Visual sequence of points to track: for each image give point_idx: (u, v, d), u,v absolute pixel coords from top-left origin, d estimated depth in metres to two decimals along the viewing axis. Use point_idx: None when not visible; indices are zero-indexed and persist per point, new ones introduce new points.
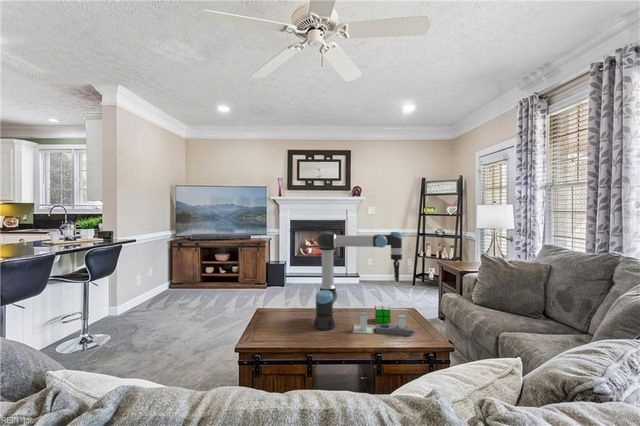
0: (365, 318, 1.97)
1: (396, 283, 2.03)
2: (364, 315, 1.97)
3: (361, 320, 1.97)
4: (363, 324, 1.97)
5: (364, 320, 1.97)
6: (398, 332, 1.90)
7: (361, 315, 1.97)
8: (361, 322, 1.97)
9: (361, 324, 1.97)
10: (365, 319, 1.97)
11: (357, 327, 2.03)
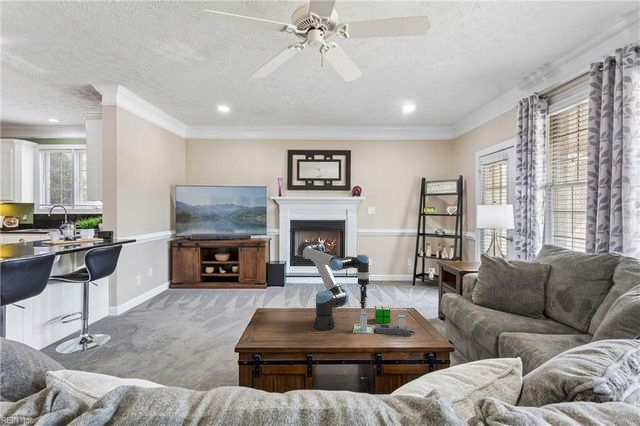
0: (365, 318, 1.97)
1: (362, 310, 1.92)
2: (364, 315, 1.97)
3: (361, 320, 1.97)
4: (363, 324, 1.97)
5: (364, 320, 1.97)
6: (398, 332, 1.90)
7: (361, 315, 1.97)
8: (361, 322, 1.97)
9: (361, 324, 1.97)
10: (365, 319, 1.97)
11: (357, 327, 2.03)
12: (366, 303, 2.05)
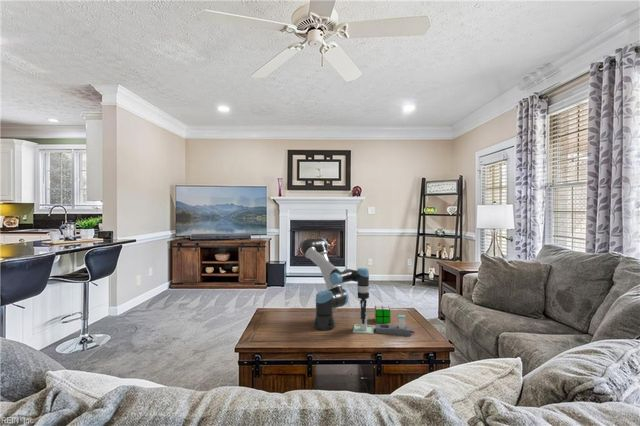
0: (365, 318, 1.97)
1: (362, 325, 1.96)
2: None
3: None
4: None
5: None
6: (398, 332, 1.90)
7: None
8: None
9: None
10: (365, 319, 1.97)
11: (357, 327, 2.03)
12: None
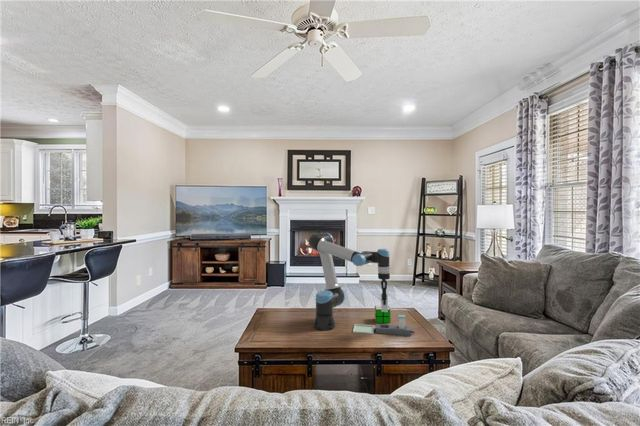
0: None
1: (383, 306, 1.94)
2: None
3: None
4: None
5: None
6: (398, 332, 1.90)
7: None
8: None
9: None
10: None
11: (357, 327, 2.03)
12: None
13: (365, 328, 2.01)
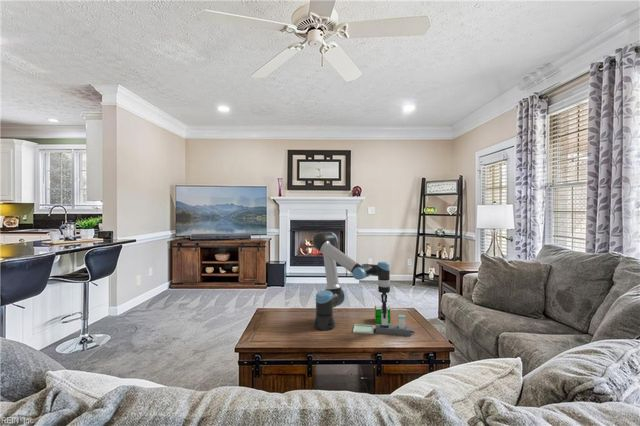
0: None
1: (383, 319, 1.94)
2: None
3: None
4: None
5: None
6: (398, 332, 1.90)
7: None
8: None
9: None
10: None
11: (357, 327, 2.03)
12: None
13: (365, 328, 2.01)
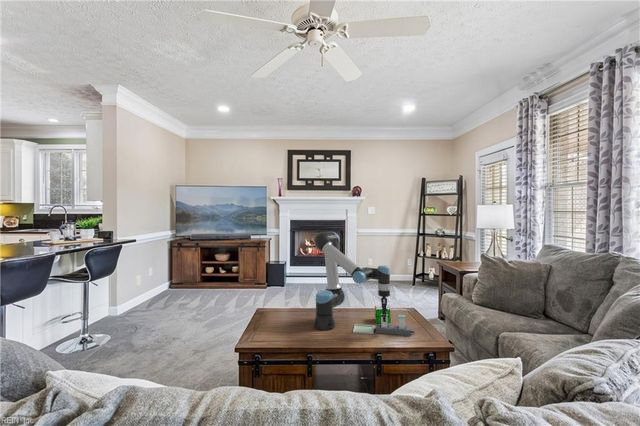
0: None
1: (383, 323, 1.90)
2: None
3: None
4: None
5: None
6: (398, 332, 1.90)
7: None
8: None
9: None
10: None
11: (357, 327, 2.03)
12: None
13: (365, 328, 2.01)
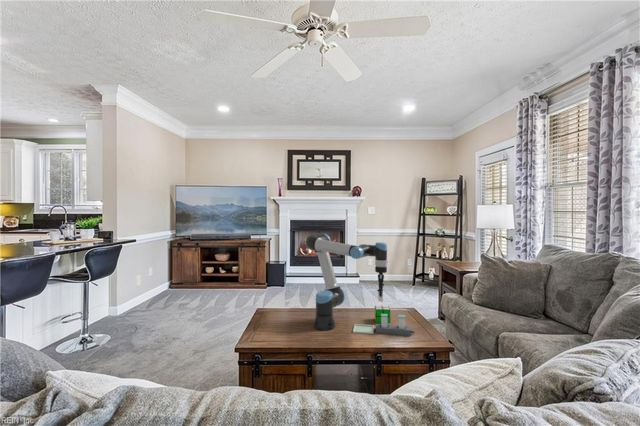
0: (386, 320, 1.94)
1: (379, 298, 1.91)
2: (385, 317, 1.94)
3: (382, 322, 1.94)
4: (384, 326, 1.94)
5: (385, 321, 1.94)
6: (398, 332, 1.90)
7: (382, 317, 1.94)
8: (382, 324, 1.94)
9: (382, 326, 1.94)
10: (386, 321, 1.94)
11: (357, 327, 2.03)
12: None
13: (365, 328, 2.01)
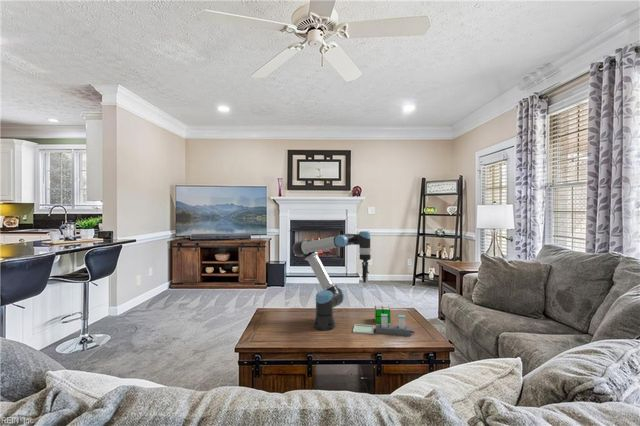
0: (386, 320, 1.94)
1: (364, 284, 1.98)
2: (385, 317, 1.94)
3: (382, 322, 1.94)
4: (384, 326, 1.94)
5: (385, 321, 1.94)
6: (398, 332, 1.90)
7: (382, 317, 1.94)
8: (382, 324, 1.94)
9: (382, 326, 1.94)
10: (386, 321, 1.94)
11: (357, 327, 2.03)
12: (367, 279, 2.11)
13: (365, 328, 2.01)
